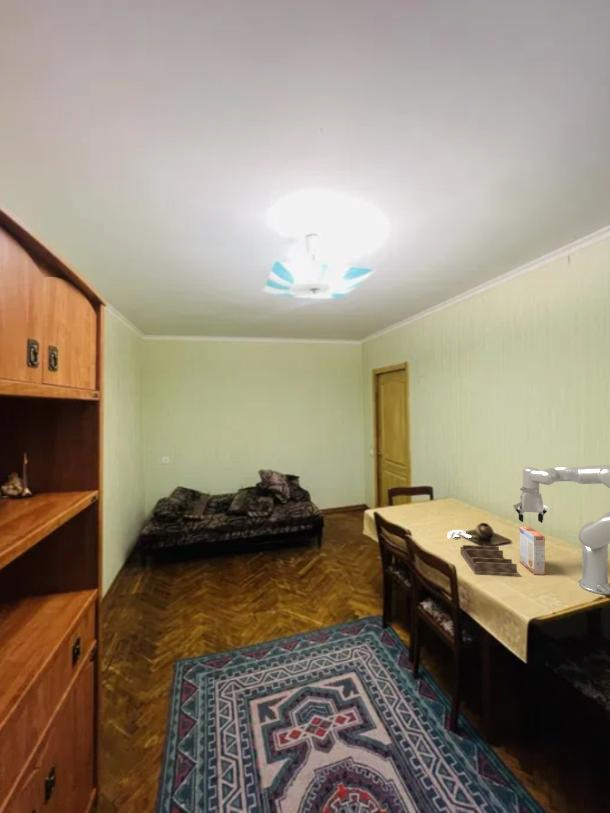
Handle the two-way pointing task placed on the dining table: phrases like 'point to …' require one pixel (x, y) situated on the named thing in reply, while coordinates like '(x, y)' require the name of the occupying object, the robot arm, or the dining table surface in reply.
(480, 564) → the rack
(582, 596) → the dining table surface
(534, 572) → the cracker box
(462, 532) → the cloth
